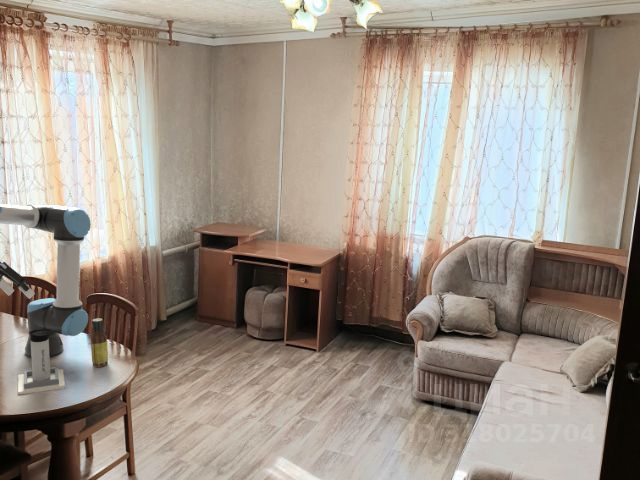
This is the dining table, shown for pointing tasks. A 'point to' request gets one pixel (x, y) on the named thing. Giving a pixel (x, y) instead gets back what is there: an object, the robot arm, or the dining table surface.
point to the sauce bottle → (99, 344)
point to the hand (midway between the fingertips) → (21, 294)
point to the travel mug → (40, 355)
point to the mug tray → (40, 382)
